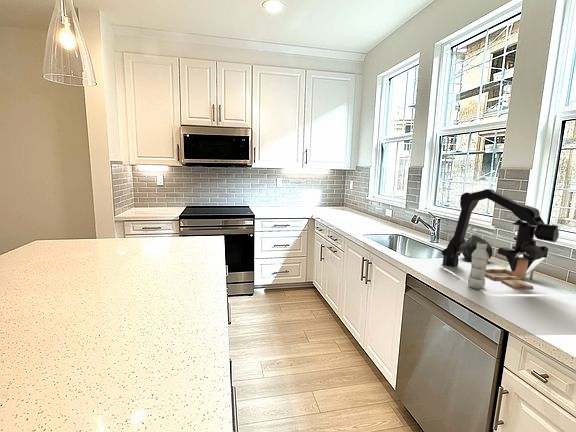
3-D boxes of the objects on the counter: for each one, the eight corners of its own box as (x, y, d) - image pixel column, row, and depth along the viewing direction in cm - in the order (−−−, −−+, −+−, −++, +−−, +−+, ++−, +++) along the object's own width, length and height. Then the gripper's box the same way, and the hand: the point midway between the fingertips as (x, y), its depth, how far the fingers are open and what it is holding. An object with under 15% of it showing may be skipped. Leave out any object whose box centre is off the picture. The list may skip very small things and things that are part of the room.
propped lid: (522, 282, 142) (527, 254, 140) (503, 273, 153) (508, 247, 150) (544, 282, 143) (549, 254, 141) (524, 273, 154) (528, 248, 151)
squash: (503, 255, 166) (488, 231, 173) (484, 258, 161) (469, 233, 168) (482, 265, 178) (468, 242, 185) (464, 268, 172) (451, 245, 179)
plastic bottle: (481, 286, 134) (488, 242, 131) (486, 292, 128) (493, 246, 125) (465, 284, 137) (471, 240, 133) (468, 289, 130) (475, 244, 127)
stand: (513, 290, 131) (514, 286, 131) (500, 284, 138) (501, 280, 138) (532, 290, 132) (533, 286, 132) (519, 284, 139) (519, 280, 139)
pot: (517, 277, 132) (520, 259, 130) (508, 273, 137) (511, 256, 135) (528, 277, 132) (532, 259, 131) (518, 273, 137) (521, 256, 136)
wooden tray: (492, 282, 140) (493, 276, 140) (476, 273, 151) (476, 268, 151) (522, 282, 142) (523, 277, 141) (504, 273, 153) (505, 268, 152)
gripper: (520, 241, 123) (514, 278, 125) (563, 241, 124) (555, 278, 127) (499, 234, 133) (493, 268, 136) (538, 235, 135) (532, 269, 138)
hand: (518, 271), depth 134 cm, fingers closed on pot, 5 cm apart
